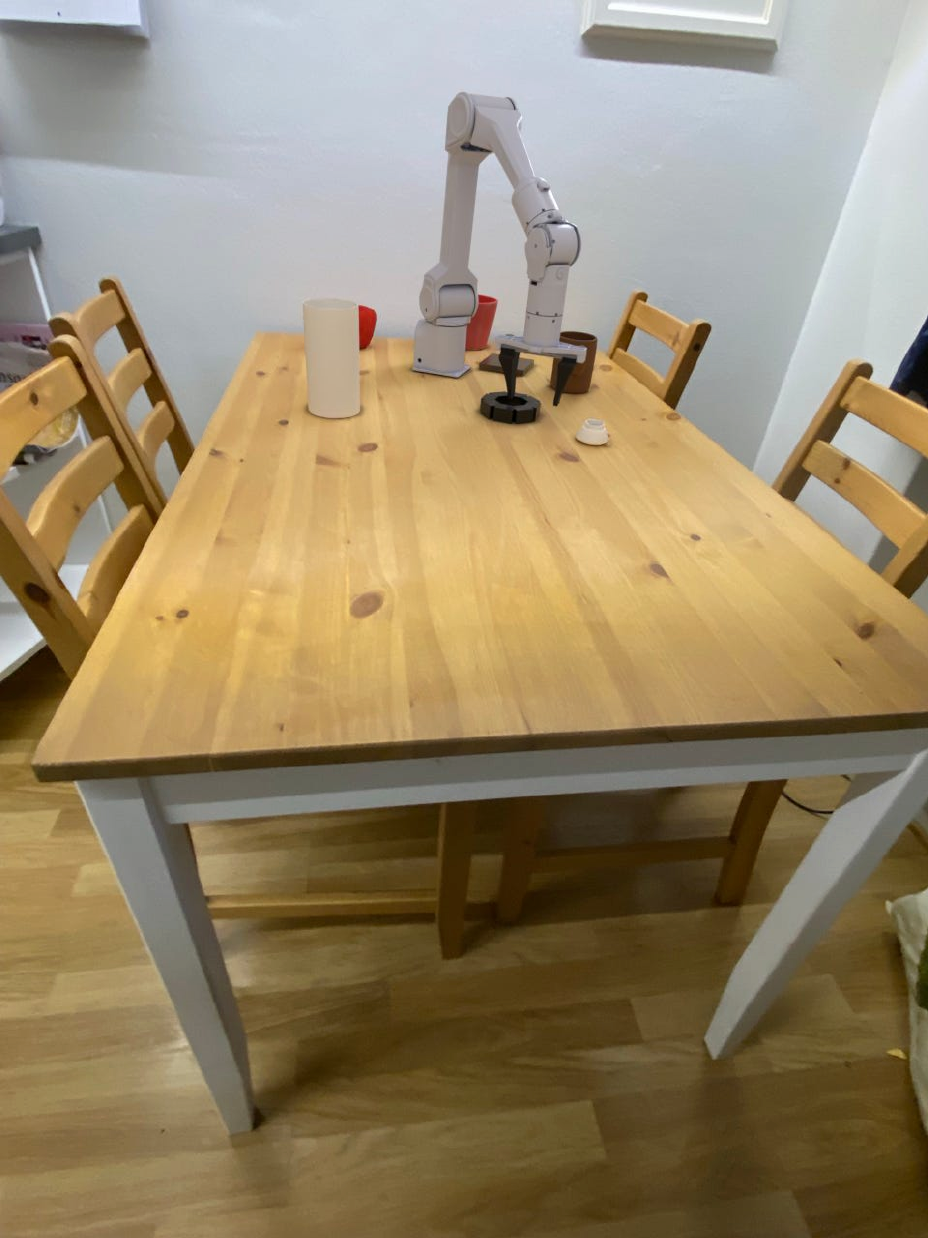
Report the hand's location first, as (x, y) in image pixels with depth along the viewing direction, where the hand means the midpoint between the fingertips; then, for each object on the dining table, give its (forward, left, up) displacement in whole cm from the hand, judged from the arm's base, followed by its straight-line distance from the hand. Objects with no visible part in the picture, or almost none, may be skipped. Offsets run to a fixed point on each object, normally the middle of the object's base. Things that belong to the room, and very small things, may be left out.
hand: (533, 400), depth 115 cm
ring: (-4, 0, -3) cm, 5 cm away
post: (-12, +27, -3) cm, 30 cm away
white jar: (+11, -6, -3) cm, 13 cm away
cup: (-30, -13, -3) cm, 33 cm away
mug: (+3, +18, -3) cm, 19 cm away
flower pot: (-24, +39, -3) cm, 46 cm away
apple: (-44, +24, -3) cm, 50 cm away
